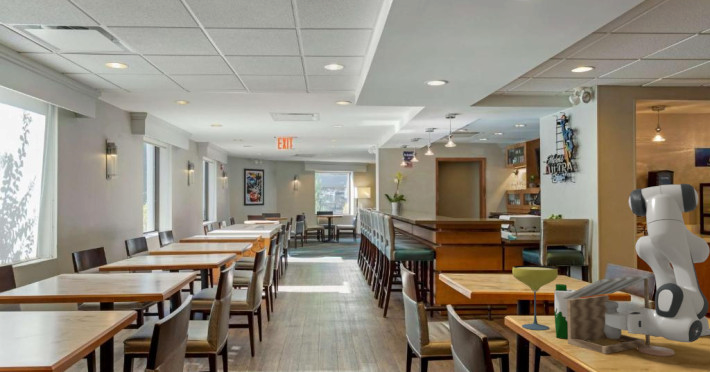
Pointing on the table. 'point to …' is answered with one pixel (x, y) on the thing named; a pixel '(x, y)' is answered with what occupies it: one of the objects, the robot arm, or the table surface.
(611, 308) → the salt shaker
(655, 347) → the terracotta saucer
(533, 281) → the cocktail glass
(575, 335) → the cold frame
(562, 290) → the milk carton
